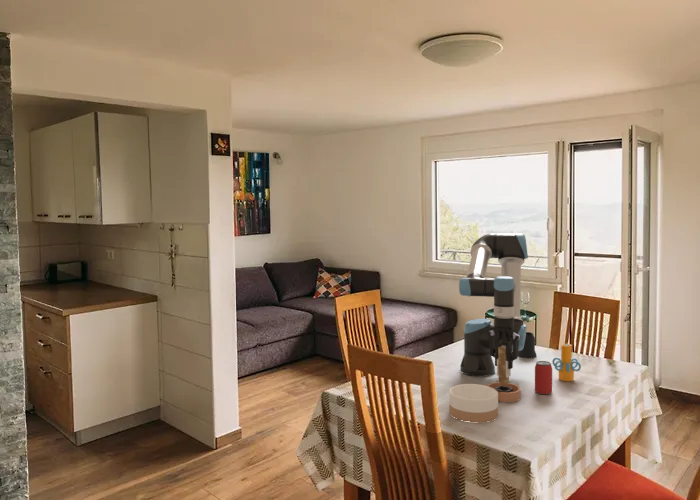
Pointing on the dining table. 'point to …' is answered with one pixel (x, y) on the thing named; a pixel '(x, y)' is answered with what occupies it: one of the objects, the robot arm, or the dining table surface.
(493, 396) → the bowl
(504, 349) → the tall wooden post
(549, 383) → the beer can
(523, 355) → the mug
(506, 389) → the clip
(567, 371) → the cylinder
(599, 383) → the dining table surface
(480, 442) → the dining table surface
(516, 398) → the shallow terracotta dish
